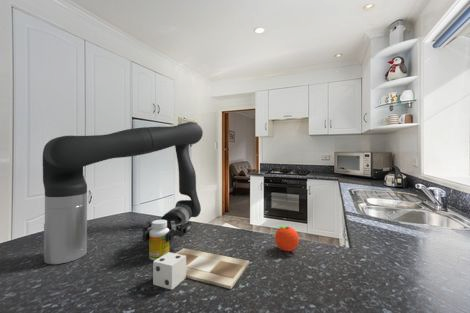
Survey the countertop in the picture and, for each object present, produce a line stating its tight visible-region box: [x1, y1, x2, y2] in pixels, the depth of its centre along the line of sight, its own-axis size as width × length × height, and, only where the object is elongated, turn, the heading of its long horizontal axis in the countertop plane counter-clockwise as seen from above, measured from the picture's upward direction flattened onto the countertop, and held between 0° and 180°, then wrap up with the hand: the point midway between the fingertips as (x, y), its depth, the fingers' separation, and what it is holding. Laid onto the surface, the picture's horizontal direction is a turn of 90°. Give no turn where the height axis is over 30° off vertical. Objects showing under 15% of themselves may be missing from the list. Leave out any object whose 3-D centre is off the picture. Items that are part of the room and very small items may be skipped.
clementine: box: [272, 225, 300, 252], centre depth 65 cm, size 8×7×7 cm
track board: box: [174, 247, 250, 290], centre depth 55 cm, size 20×12×1 cm, turn 68°
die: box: [152, 251, 186, 290], centre depth 49 cm, size 5×5×5 cm
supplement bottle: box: [148, 219, 171, 261], centre depth 60 cm, size 5×5×10 cm
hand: (155, 238), depth 58 cm, fingers closed on supplement bottle, 5 cm apart
